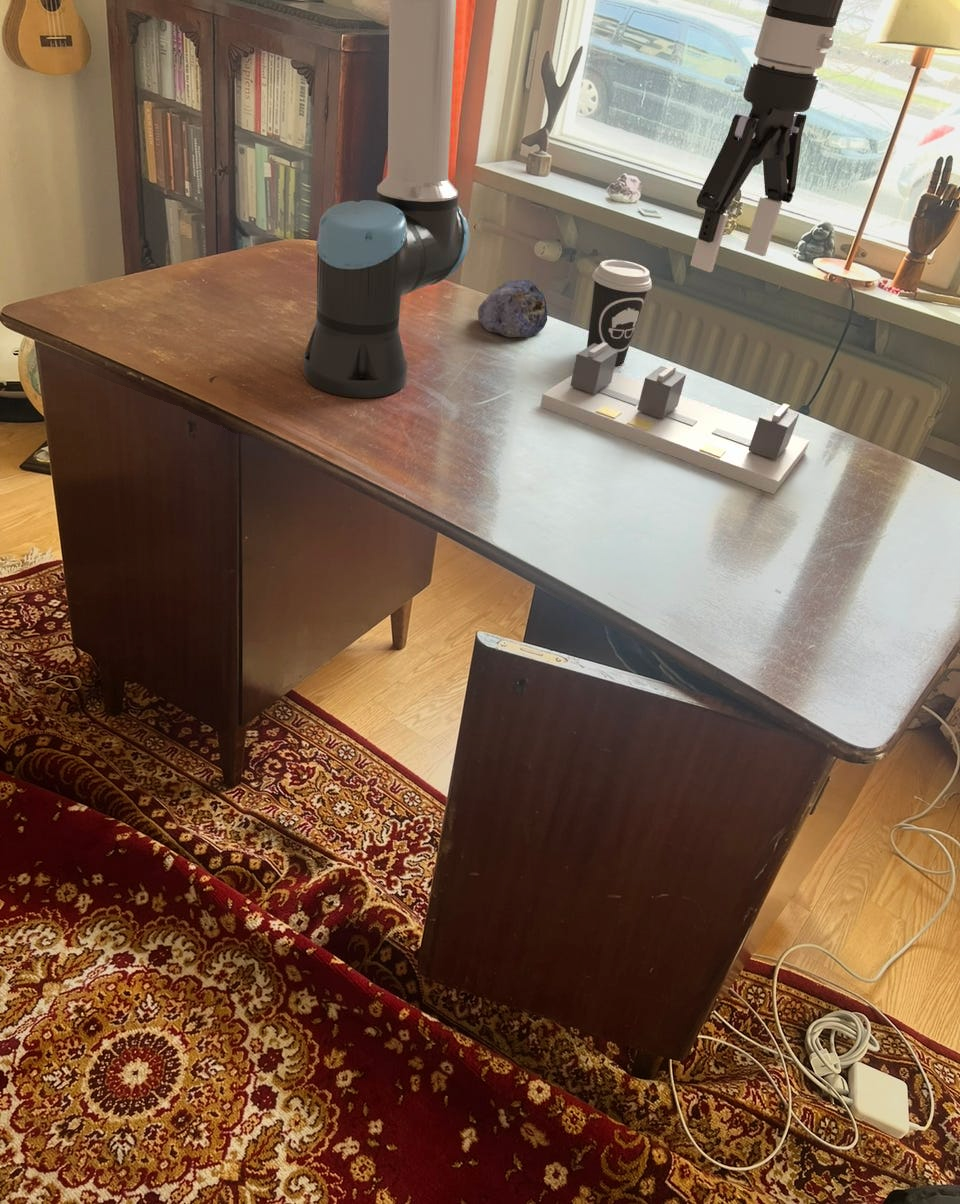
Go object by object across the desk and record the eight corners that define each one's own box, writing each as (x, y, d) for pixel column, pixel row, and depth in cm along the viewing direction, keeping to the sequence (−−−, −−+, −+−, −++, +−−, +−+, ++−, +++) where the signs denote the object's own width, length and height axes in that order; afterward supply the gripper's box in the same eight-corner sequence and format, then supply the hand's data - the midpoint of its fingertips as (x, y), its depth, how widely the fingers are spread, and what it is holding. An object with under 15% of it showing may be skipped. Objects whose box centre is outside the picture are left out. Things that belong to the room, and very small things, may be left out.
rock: (557, 316, 160) (541, 268, 153) (526, 356, 157) (509, 309, 149) (508, 309, 166) (490, 262, 159) (477, 348, 163) (458, 302, 155)
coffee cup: (638, 355, 157) (659, 267, 148) (626, 375, 150) (648, 283, 141) (584, 342, 159) (602, 253, 150) (570, 360, 152) (588, 268, 143)
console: (540, 406, 136) (542, 392, 135) (587, 375, 148) (589, 362, 146) (773, 494, 124) (779, 480, 122) (805, 452, 135) (810, 439, 134)
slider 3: (748, 450, 128) (761, 412, 124) (761, 435, 132) (773, 398, 129) (775, 460, 127) (789, 421, 123) (787, 445, 131) (801, 407, 127)
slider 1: (570, 385, 138) (577, 348, 134) (587, 374, 142) (595, 337, 139) (594, 394, 136) (602, 357, 133) (610, 382, 141) (619, 346, 137)
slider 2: (637, 409, 134) (646, 372, 130) (652, 397, 138) (662, 360, 135) (662, 419, 132) (672, 381, 129) (677, 406, 137) (687, 369, 133)
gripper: (764, 74, 92) (703, 286, 105) (862, 72, 108) (800, 255, 121) (700, 59, 95) (649, 265, 108) (805, 58, 112) (750, 238, 124)
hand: (728, 260), depth 115 cm, fingers open, 13 cm apart
